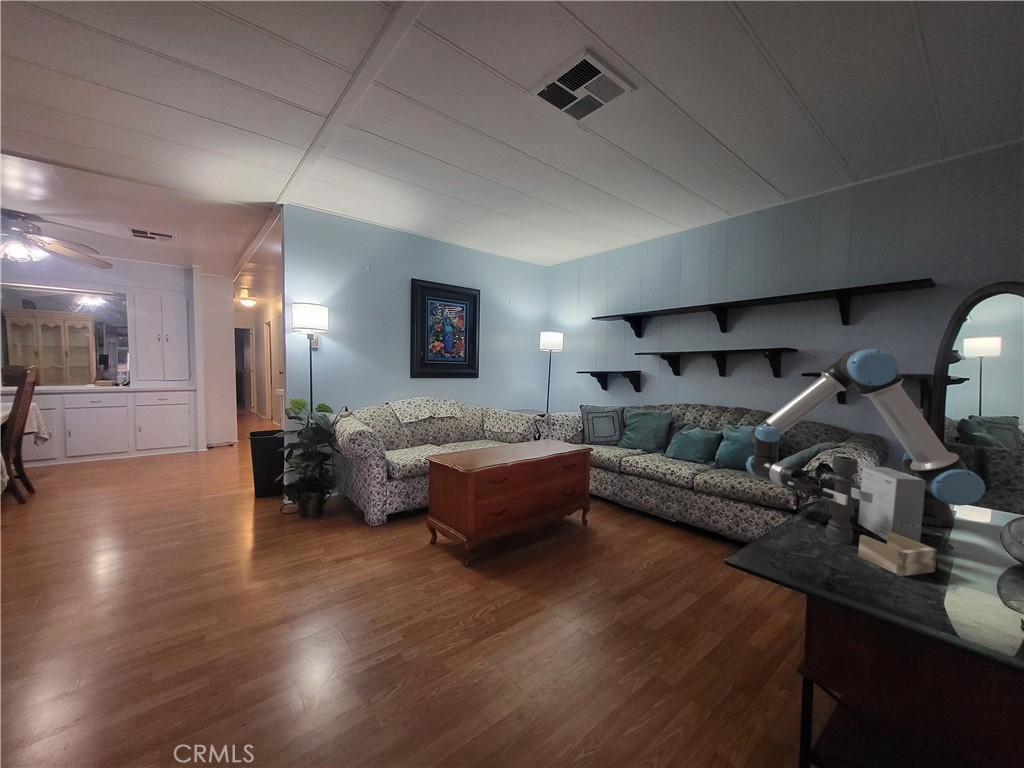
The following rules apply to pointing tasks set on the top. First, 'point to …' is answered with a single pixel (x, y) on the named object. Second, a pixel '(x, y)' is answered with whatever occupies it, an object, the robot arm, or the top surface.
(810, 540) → the top surface
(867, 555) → the birch crate
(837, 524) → the candle holder
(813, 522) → the top surface
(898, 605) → the top surface
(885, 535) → the hard drive box
